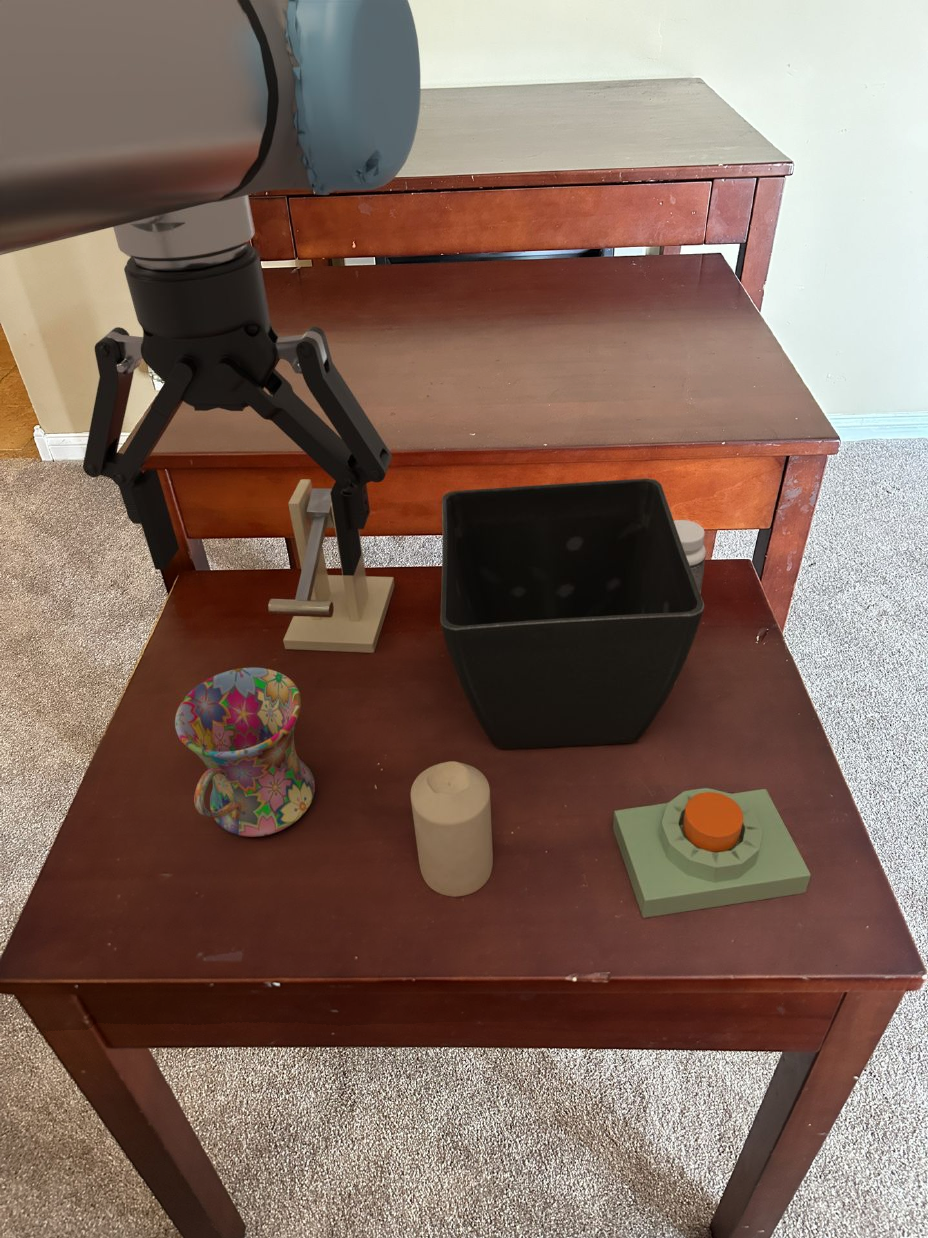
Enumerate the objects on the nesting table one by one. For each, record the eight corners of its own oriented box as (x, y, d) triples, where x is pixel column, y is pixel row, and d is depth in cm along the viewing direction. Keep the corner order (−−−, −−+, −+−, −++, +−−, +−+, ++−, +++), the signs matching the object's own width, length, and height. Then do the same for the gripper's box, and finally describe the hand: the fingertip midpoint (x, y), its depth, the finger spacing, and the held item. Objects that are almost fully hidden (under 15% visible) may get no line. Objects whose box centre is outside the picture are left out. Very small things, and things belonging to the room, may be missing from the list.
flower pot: (453, 783, 74) (439, 625, 63) (452, 636, 89) (441, 488, 78) (684, 773, 73) (709, 612, 63) (644, 627, 88) (659, 477, 78)
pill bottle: (695, 584, 93) (705, 516, 88) (703, 612, 89) (713, 543, 84) (649, 585, 93) (656, 517, 88) (655, 613, 90) (662, 544, 85)
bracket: (374, 653, 87) (355, 524, 78) (284, 649, 88) (255, 522, 79) (394, 585, 96) (379, 462, 86) (313, 583, 97) (289, 461, 88)
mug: (239, 750, 78) (211, 659, 71) (338, 768, 76) (319, 676, 69) (169, 863, 69) (129, 770, 62) (279, 887, 67) (250, 794, 60)
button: (693, 856, 63) (696, 840, 62) (675, 811, 66) (677, 796, 65) (748, 847, 63) (752, 832, 62) (727, 804, 66) (730, 788, 65)
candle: (494, 896, 65) (490, 807, 59) (419, 899, 65) (406, 810, 59) (492, 835, 69) (488, 746, 63) (421, 837, 70) (410, 749, 63)
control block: (642, 918, 63) (647, 885, 61) (612, 828, 69) (615, 794, 67) (805, 893, 64) (816, 859, 62) (761, 806, 70) (769, 772, 68)
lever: (333, 623, 79) (327, 609, 77) (272, 621, 79) (265, 606, 77) (356, 504, 85) (351, 488, 83) (300, 503, 86) (294, 487, 84)
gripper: (-52, 272, 49) (69, 586, 62) (395, 268, 46) (424, 599, 59) (17, 234, 55) (114, 529, 68) (417, 228, 52) (439, 537, 65)
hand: (258, 562), depth 64 cm, fingers open, 13 cm apart
